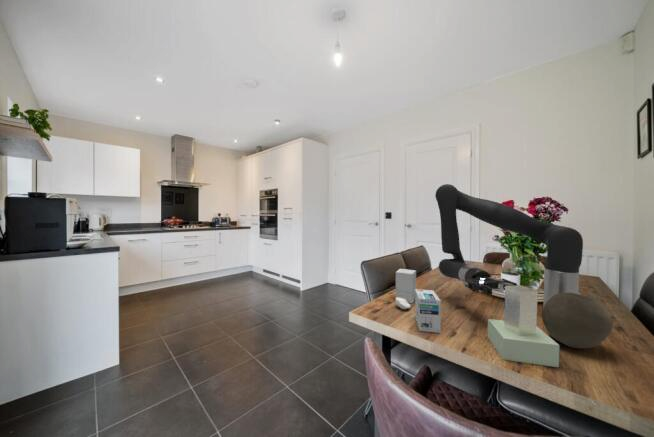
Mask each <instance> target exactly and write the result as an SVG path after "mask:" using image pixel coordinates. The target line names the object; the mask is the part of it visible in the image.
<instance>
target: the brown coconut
mask: <svg viewBox="0 0 654 437" xmlns="http://www.w3.org/2000/svg"><path fill="white" fill-rule="evenodd" d="M541 317H542V323H543V325H544V327H545V329H546V331H547V332H548V334H549V335H550V336H551V337H552V338H554V339H555V340H557V341H558V342H560V343H562V344H563V345H565V346H566V347H569V348H572V349H581V350H582V349H590V348H594V347H597V346H598V345H599V344H601V343H603V342H604V341H605V340H606V339H607V338H608V337H609V335H610V334H611V333H612V330H613V326H614V323H613V317H612V316H611V314H610V312H609V311H608V310H607V308H606V307H605V306H604V305H603V304H601V303H600V302H599V301H598V300H596V299H594V298H592V297H590V296H588V295H584V294H583V295H582V294H581V295H579V294H575V293H559V294H556V295H554V296H552V297H551V298H550V299H549V300H548V301H547V302H546V304H545V305H544V307H542V312H541Z"/></svg>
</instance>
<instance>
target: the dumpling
mask: <svg viewBox="0 0 654 437" xmlns="http://www.w3.org/2000/svg"><path fill="white" fill-rule="evenodd" d="M394 300H395V303H396V305H397V306H398V307H399V308H400V309H401V310H407V309H410V308H411V306H412V305H411V303H408V302H407V301H406V300H405V299H403V298H396V297H395V299H394Z"/></svg>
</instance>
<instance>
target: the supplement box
mask: <svg viewBox="0 0 654 437" xmlns="http://www.w3.org/2000/svg"><path fill="white" fill-rule="evenodd" d="M415 289H417V270H414V269H407V268H399V269H397V271H395V299H396V298H403V299H405V300H406V301H407V302H408V303H409V304H413V303H415Z"/></svg>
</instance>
